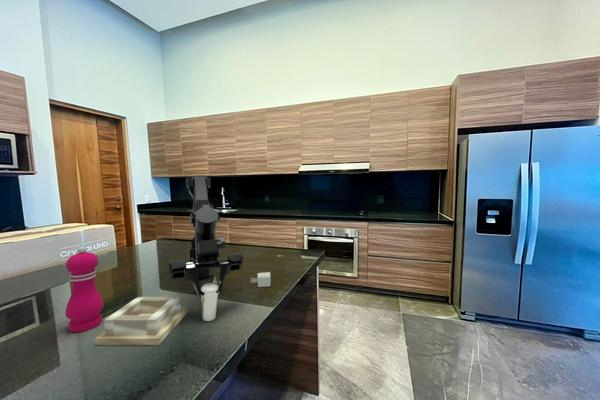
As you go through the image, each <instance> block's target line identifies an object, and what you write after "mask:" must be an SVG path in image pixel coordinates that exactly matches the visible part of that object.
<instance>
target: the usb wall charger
mask: <svg viewBox="0 0 600 400" xmlns="http://www.w3.org/2000/svg"><path fill="white" fill-rule="evenodd" d="M249 280H250V281H249V282H250V283H251V284H254V283H257V288H263V287H267V288H268V287H271V283H272V282H271V272H258V273H257V277H251V278H249Z"/></svg>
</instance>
